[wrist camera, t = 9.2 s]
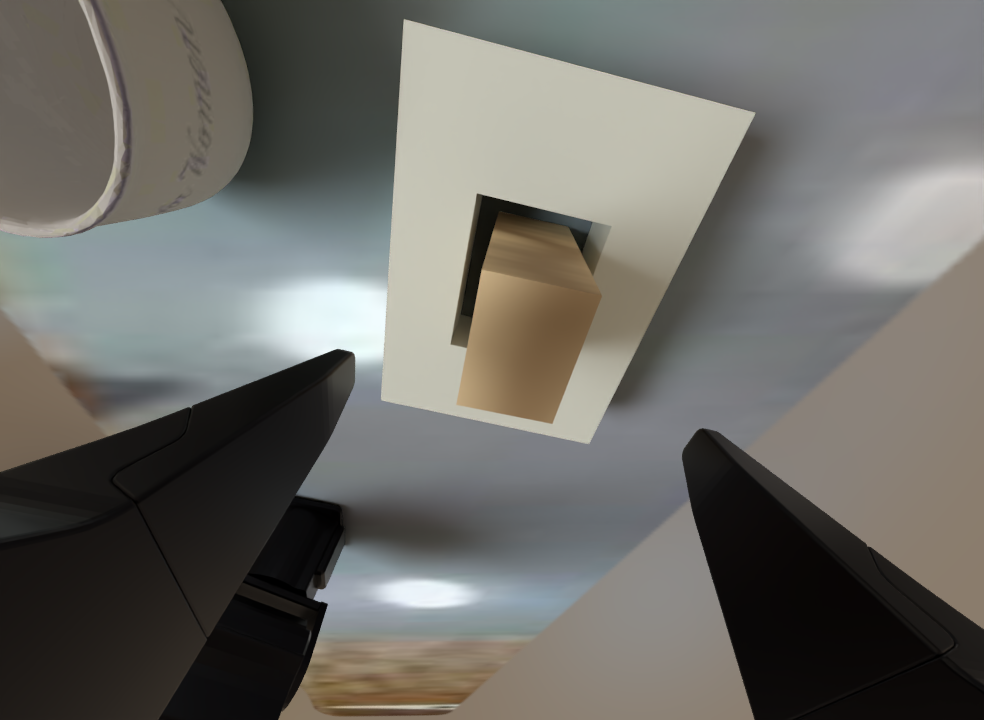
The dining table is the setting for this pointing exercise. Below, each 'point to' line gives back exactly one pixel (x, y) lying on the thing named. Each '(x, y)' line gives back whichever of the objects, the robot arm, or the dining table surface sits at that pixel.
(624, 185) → the well block
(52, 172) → the teacup
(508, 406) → the wooden bar
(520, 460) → the dining table surface
